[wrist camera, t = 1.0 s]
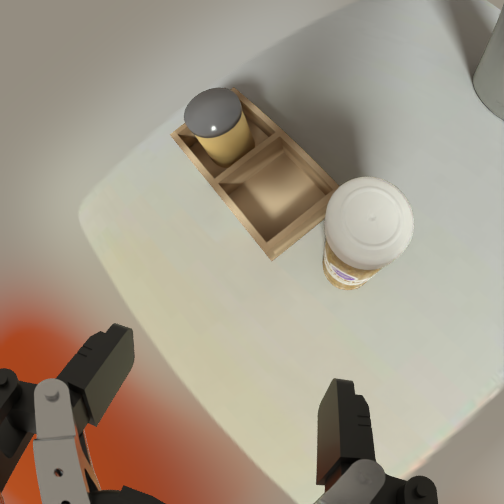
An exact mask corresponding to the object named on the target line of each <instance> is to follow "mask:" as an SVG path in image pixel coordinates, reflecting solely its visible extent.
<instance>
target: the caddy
mask: <svg viewBox="0 0 504 504" xmlns="http://www.w3.org/2000/svg"><path fill="white" fill-rule="evenodd" d="M231 91H233V92H234V93H235V94H236V95H237V96H238V98H239V100H240V103H241V105H242V111H243V113H244V116H245V118H246V121H247V123H248V126H249V128H250V131H251V133H252V136H253V138H254V141H255V148H254V149H252V150H251V151H250V152H248V153H247V154H246V155H244V156H243V157H242V158H241V159H239V160H238V161H237V162H235V163H234V164H233V165H231V166H230V167H229V168H223V167H220V166H218V165H216V164H215V163H214V162H213V161H212V159H211V158H210V156H209V155H208V153H207V152H206V150H205V149H204V148H203V146H202V145H201V143H200V142H199V140H198V139H197V138H196V136H195V135H194V134H193V133H192V132H191V131H190V130H189V128H188V127H187V125H186V123H184V124H183V125H181V126H180V127H179V128H178V129H176V130H175V131H174V132H173V133H171V134H170V136H171V137H172V138H173V139H174V140H175V142H176V143H177V144H178V145H179V147H180V148H181V149H182V150H183V152H184V153H185V154H186V155H187V156H188V158H189V159H190V160H191V161H192V163H193V164H194V165H195V166H196V168H197V169H198V170H199V171H200V173H201V174H202V175H203V176H204V177H205V179H206V180H207V181H208V182H209V184H210V185H211V186H212V187H213V189H214V190H215V191H216V192H217V194H218V195H219V196H220V197H221V199H222V200H223V201H224V202H225V204H226V205H227V206H228V207H229V209H230V210H231V211H232V212H233V213H234V215H235V216H236V217H237V218H238V220H239V221H240V222H241V223H242V225H243V226H244V227H245V228H246V230H247V231H248V232H249V233H250V235H251V236H252V237H253V238H254V240H255V241H256V242H257V243H258V245H259V246H260V247H261V249H262V250H263V251H264V252H265V254H266V255H267V256H268V257H269V258H270V260H271V261H273V260H274V259H275V258H277V257H278V256H279V255H280V254H282V253H283V252H284V251H285V250H287V249H288V248H289V247H290V246H292V245H293V244H294V243H295V242H297V241H298V240H299V239H300V238H301V237H303V236H304V235H305V234H306V233H308V232H309V231H310V230H311V229H313V228H314V227H315V226H316V225H318V224H319V223H320V222H321V221H322V220H324V219H325V214H326V209H327V205H328V202H329V200H330V198H331V196H332V195H333V193H334V192H335V191H336V190H337V189H338V188H339V187H340V186H339V185H338V184H337V183H336V182H335V181H334V180H333V179H332V178H331V177H330V176H329V175H328V174H327V173H326V172H325V171H324V170H323V169H322V168H321V167H320V166H319V165H318V164H317V163H316V162H315V161H314V160H313V159H312V158H311V157H310V156H309V155H308V154H307V153H306V152H305V151H304V150H303V149H302V148H301V147H300V146H299V145H298V144H297V143H296V142H295V141H294V140H293V139H291V138H290V137H289V136H288V135H287V134H286V133H285V132H284V131H283V130H282V129H281V128H280V127H279V126H278V125H276V124H275V123H274V122H273V121H272V120H271V119H270V118H269V117H268V116H266V115H265V114H264V113H263V112H262V111H261V110H260V109H259V108H257V107H256V106H255V105H254V104H253V103H252V102H251V101H249V100H248V99H247V98H246V97H245V96H244V95H242V94H241V93H240V92H239V91H238V90H236V89H235V88H234V87H233V88H232V89H231Z"/></svg>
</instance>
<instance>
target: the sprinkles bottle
mask: <svg viewBox="0 0 504 504" xmlns="http://www.w3.org/2000/svg"><path fill="white" fill-rule="evenodd" d="M324 229H325V235H326V242H325V248H324V259H323V270H324V273H325V276H326V277H327V279H328V280H329V281H330V282H331V283H332V284H333V285H334V286H336V287H338V288H340V289H344V290H352V289H357V288H359V287H360V286H362V285H364V284H365V283H366V282H367V281H368V280H369V279H370V278H371V277H373V276H374V275H375V274H376V273H377V272H378V271H379V270H380V269H382V268H383V267H385V266H387V265H389V264H390V263H392V262H393V261H394V260H396V259H397V258H398V257H399V256H400V255H401V254H402V253H403V252H404V251H405V249H406V248H407V246H408V245H409V243H410V241H411V238H412V235H413V231H414V217H413V212H412V209H411V206H410V204H409V202H408V200H407V198H406V197H405V196H404V194H403V193H402V192H401V191H400V190H399V189H398V188H397V187H396V186H394V185H393V184H391V183H390V182H388V181H386V180H383V179H380V178H376V177H359V178H354V179H352V180H349V181H347V182H345V183H344V184H342V185H341V186H340V187H339V188H338V189H337V190H336V191H335V192H334V193H333V195H332V196H331V198H330V200H329V202H328V205H327V209H326V214H325V225H324Z"/></svg>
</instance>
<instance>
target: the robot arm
mask: <svg viewBox="0 0 504 504" xmlns="http://www.w3.org/2000/svg"><path fill="white" fill-rule="evenodd" d="M473 84H474V88H475V90H476V92H477V94H478V96H479V98H480V99H481V100H482V102H483V103H484V104H485V105H486V106H487V107H488V108H489V109H490V110H491V111H492V112H493V113H494V114H495V115H497V116H498V117H499V118H501V119H503V120H504V5H503V8H502V10H501V13H500V15H499V18H498V21H497V23H496V26H495V28H494V31H493V33H492V36H491V38H490V40H489V43H488V45H487V47H486V50H485V52H484V54H483V56H482V58H481V61H480V63H479V65H478V67H477V69H476V71H475V74H474V76H473ZM133 363H134V342H133V331H132V329H131V328H128V327H125V326H122V325H119V324H116V323H114V324H113V325H112V326H111V327H110V328H109V329H108V331H107V332H106V333H103V332H101V331H100V332H98V333H96V334H94V335H93V336H91V337H90V338H89V339H88V340H87V341H86V342H85V343H84V345H83V347H81V348H80V349H79V351H78V352H77V354H75V356H74V357H73V358H72V359H71V360H70V362H69V363H68V364H67V365H66V367H65V368H64V369H63V370H62V372H61V373H60V374H59V375H58V376H57V378H56V379H46V380H44V381H42V382H40V383H39V384H32V383H27V382H23V381H19V380H18V378H17V376H16V374H15V373H14V372H13V371H12V370H10V369H5V368H3V369H0V504H5V502H4V498H3V496H2V494H1V492H2V491H3V489H4V487H5V485H6V483H7V481H8V479H9V477H10V476H11V474H12V472H13V470H14V468H15V466H16V465H17V463H18V461H19V459H20V458H21V456H22V454H23V452H24V451H25V449H26V447H27V445H28V444H29V442H30V440H31V438H32V437H33V435H34V433H35V434H37V439H34V440H33V450H34V458H35V465H36V472H37V478H38V484H39V489H40V494H41V499H42V504H165V503H163V502H161V501H160V500H158V499H156V498H155V497H153V496H151V495H148V494H145V493H142V492H140V491H137V490H134V489H132V488H129V487H127V486H123V488H122V490H121V491H119V490H101V488H100V485H99V482H98V480H97V477H96V475H95V472H94V469H93V466H92V462H91V458H90V454H89V450H88V445H87V441H86V437H85V432H84V428H85V426H86V425H87V423H90V424H92V425H94V426H96V427H97V425H98V423H99V422H100V420H101V418H102V417H103V415H104V413H105V412H106V410H107V408H108V406H109V405H110V403H111V402H112V400H113V398H114V397H115V395H116V393H117V392H118V390H119V388H120V387H121V385H122V383H123V381H124V380H125V378H126V377H127V375H128V373H129V372H130V370H131V368H132V366H133ZM316 485H325V493H324V494H323V495H322V496H321V497H320V498H319V499H318V500H317V501H316V502H315V503H314V504H438V499H437V490H436V487H435V485H434V483H433V482H432V481H431V480H430V479H429V478H427V477H424V476H415V477H412V478H411V479H409V480H408V481H405V480H402V479H398V478H395V477H392V476H389V475H387V474H385V472H384V470H383V468H382V467H381V466H380V465H379V464H378V463H377V462H376V459H375V451H374V443H373V434H372V428H371V419H370V412H369V406H368V404H367V402H366V401H365V399H364V397H363V396H362V395H355V390H354V383H353V381H349V380H342V379H336V378H334V379H333V380H332V382H331V384H330V386H329V388H328V390H327V392H326V393H325V395H324V397H323V399H322V401H321V403H320V406H319V410H318V438H317V475H316Z"/></svg>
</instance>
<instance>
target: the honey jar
mask: <svg viewBox="0 0 504 504" xmlns="http://www.w3.org/2000/svg"><path fill="white" fill-rule="evenodd" d="M184 121H185V123H186V125H187V127H188V128H189V130H190V131H191V132H192V133H193V134H194V135H195V136H196V138H197V139H198V140H199V142H200V143H201V145H202V146H203V148H204V149H205V150H206V152H207V153H208V155H209V156H210V158H211V159H212V161H213V162H214V163H215V164H216V165H218V166H220V167H223V168H229V167H230V166H231V165H233V164H234V163H235V162H237V161H238V160H239V159H241V158H242V157H243V156H244V155H246V154H247V153H248V152H250V151H251V150H252V149H254V148H255V141H254V138H253V136H252V133H251V131H250V128H249V126H248V123H247V121H246V118H245V116H244V113H243V111H242V105H241V103H240V100H239V98H238V96H237V95H236V94H235V93H234V92H233V91H231V90H229V89H226V88H212V89H209V90H206V91H203V92H201V93H200V94H198V95H197V96H195V97H194V98H193V99H192V100H191V101H190V102H189V104H188V105H187V107H186V109H185V113H184Z"/></svg>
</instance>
